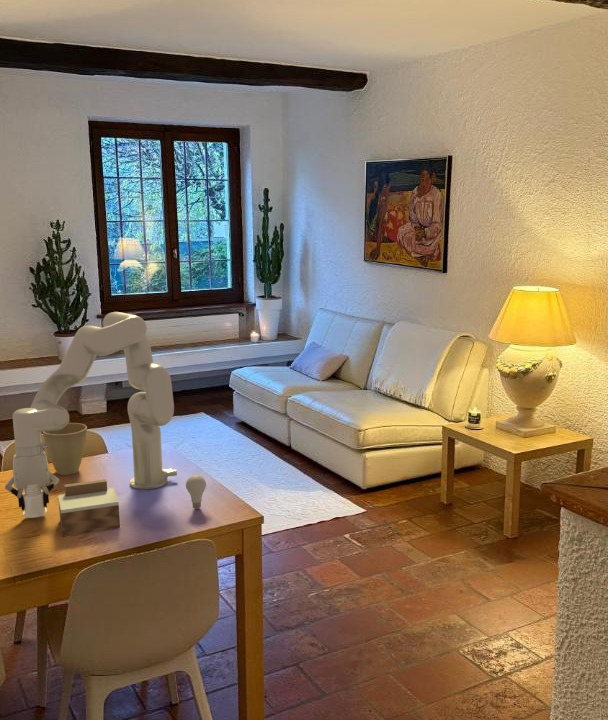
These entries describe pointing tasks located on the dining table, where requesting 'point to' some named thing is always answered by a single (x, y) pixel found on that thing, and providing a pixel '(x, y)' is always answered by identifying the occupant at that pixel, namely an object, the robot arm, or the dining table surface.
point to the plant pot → (66, 447)
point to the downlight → (33, 502)
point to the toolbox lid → (87, 496)
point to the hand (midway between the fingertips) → (34, 506)
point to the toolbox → (89, 520)
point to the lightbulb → (196, 489)
